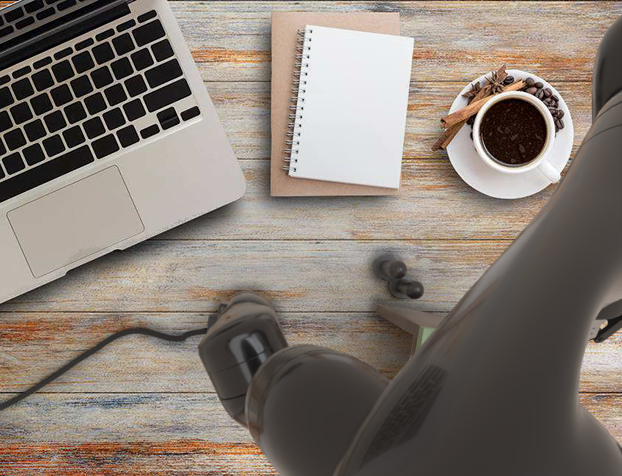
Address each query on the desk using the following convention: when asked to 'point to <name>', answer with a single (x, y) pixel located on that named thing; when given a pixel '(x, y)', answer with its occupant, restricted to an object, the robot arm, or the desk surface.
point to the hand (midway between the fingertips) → (544, 363)
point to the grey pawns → (398, 277)
